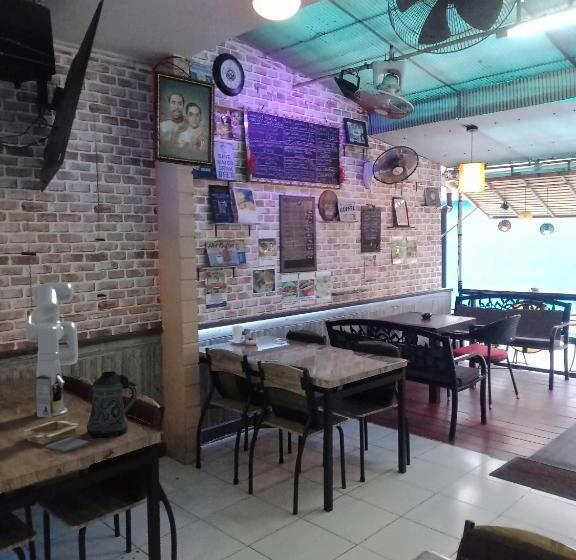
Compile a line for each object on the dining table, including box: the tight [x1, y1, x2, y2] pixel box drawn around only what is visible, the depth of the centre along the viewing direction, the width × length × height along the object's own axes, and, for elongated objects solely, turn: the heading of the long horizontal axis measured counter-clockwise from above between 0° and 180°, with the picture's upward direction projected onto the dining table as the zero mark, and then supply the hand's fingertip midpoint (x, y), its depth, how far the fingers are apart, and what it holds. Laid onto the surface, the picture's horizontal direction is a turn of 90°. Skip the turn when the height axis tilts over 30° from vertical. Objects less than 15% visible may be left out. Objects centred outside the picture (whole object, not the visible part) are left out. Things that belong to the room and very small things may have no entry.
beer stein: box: [86, 371, 138, 439], centre depth 232 cm, size 16×19×25 cm
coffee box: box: [35, 372, 65, 419], centre depth 226 cm, size 9×6×16 cm
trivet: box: [45, 436, 90, 453], centre depth 216 cm, size 11×11×1 cm
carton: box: [22, 420, 80, 446], centre depth 226 cm, size 16×19×4 cm
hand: (50, 399), depth 226 cm, fingers closed on coffee box, 7 cm apart
